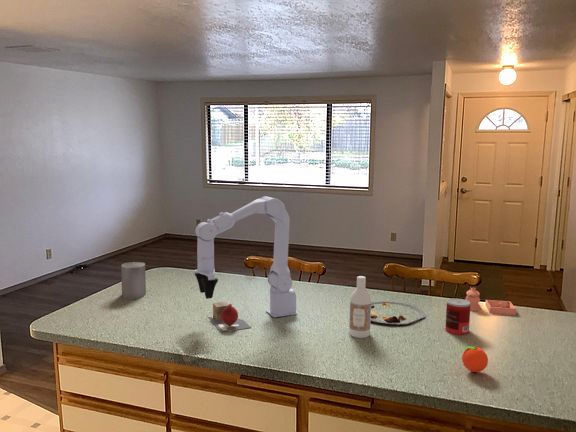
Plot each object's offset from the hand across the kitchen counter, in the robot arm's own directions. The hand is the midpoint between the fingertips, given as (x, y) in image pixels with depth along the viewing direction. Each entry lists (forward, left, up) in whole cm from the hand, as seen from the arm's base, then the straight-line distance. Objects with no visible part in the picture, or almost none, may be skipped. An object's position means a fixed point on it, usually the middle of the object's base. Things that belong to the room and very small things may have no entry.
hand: (206, 295), depth 176 cm
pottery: (-103, +29, -11) cm, 107 cm away
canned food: (-77, +40, -11) cm, 88 cm away
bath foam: (-45, +29, -11) cm, 55 cm away
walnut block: (-7, -5, -10) cm, 14 cm away
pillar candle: (+19, -45, -11) cm, 50 cm away
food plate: (-65, +17, -11) cm, 69 cm away
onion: (-7, +5, -11) cm, 14 cm away
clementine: (-60, +65, -11) cm, 89 cm away
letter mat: (-8, 0, -11) cm, 13 cm away
